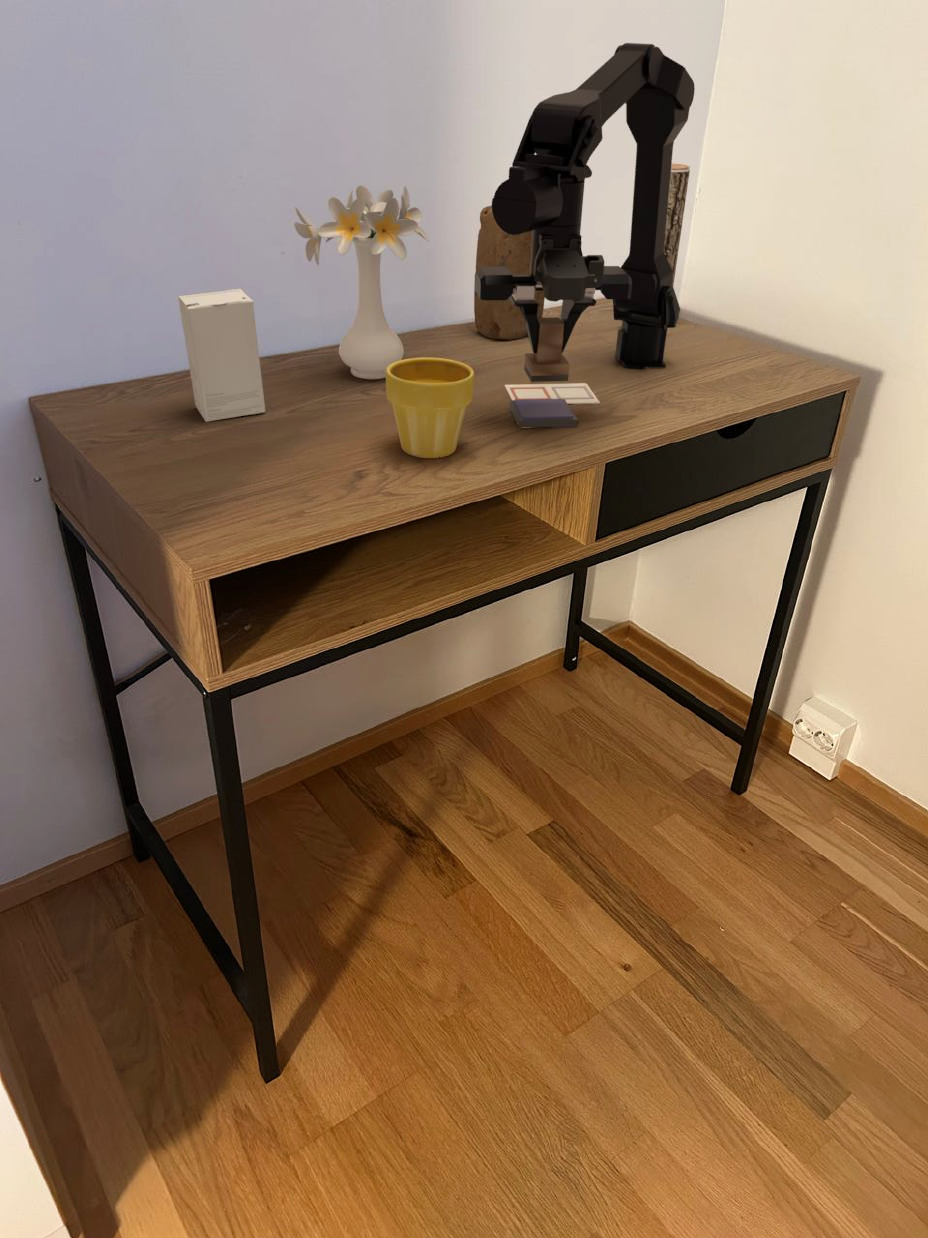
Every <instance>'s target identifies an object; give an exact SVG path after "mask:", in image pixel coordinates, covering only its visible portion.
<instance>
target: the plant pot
mask: <svg viewBox="0 0 928 1238" xmlns="http://www.w3.org/2000/svg"><path fill="white" fill-rule="evenodd" d="M474 389H475V371H474V369H473V368H472V367H471V366H470V365H467V364H466V363H464V362H461V361H458V360H454V359H448V358H442V357H412V358H404V359H401V360H400V361H397V362H394V363H392V364H390V365H389V366H388V367H387V369H386V378H385V394H386V398H387V400H388V401H389V403H391V405H392V408H393V409H392V410H393V413H394V418H395V422H396V427H397V431H398V437H399V441H400V445H401V448H402V451H404V452H405V453H406V454H408V455H410V456H413V457H416V458H421V459H440V458H445V457H448V456H450V455H452V454H453V453H455V451H456V450H457V446H458V442H459V437H460V433H461V429H462V425H463V422H464V418H465V413H466V409H467V406H468V405H469V404H470V403H472V401H473V399H474ZM439 457H440V458H439Z"/></svg>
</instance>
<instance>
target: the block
mask: <svg viewBox="0 0 928 1238" xmlns="http://www.w3.org/2000/svg"><path fill="white" fill-rule="evenodd" d="M479 222H480V229H479V230H478V235H477V245H476V258H475V272H476V271H477V269H478V268H479V267H507V268H508V269H509V271H510V272H511V273H512V275H529V274H530V262H531V247H532V231H529V232H526V233H522V234H518V235H511V234H508V233H506V232H504V231H503V230H502V229H501V228H500V227H499V226H498V225H497V223H496V221H495V219H494V216H493V213H492V205H488V206H485V207H484V208H483V207H482V209H481V210H480V212H479ZM537 283H541V282H537ZM473 290H474V292H473V309H474V310H473V311H474V314H473V315H474V325H475V328H476V330H477V331H478V332H480V334H481V335H482V336H484V337H486V338H489V339H493V340H505V341H507V340H508V341H510V340H516V339H521V338H523V337H524V336H525V337H526V336H527V337H528V332H527V329H526V325H525V321H524V318H523V315H522V313H521V310H520V308H519V307H517V306H514V305H513V303H512V302H511V300H510V299H509V298H508V299H507V300H481V299H480V298H479V296H478V295H477V293H476V291H475V289H473ZM534 298H535V299H536V300H537V302H538V303H539V305H538V311H537V318H543V314H544V306H545V299H546V298H545V297H544V292H543V291H535V296H534Z"/></svg>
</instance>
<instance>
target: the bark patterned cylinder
mask: <svg viewBox="0 0 928 1238" xmlns="http://www.w3.org/2000/svg"><path fill="white" fill-rule="evenodd" d="M690 168H691V166H690V165H687V164H682V163H673V162H672V164H671V175H670V186H669V197H668V208H667V219H666V230H665V242H664V254H665V256H666V258H667V260H668V262H669V264H670V266H671V268H672V270H673V286H674V283H675V276H676V272H677V271H676V269H677V264H678V256H679V248H680V242H681V234H682V227H683V219H684V216H685V215H684V213H685V206H686V198H687V193H688V192H687V191H688V185H689V178H690V171H691V170H690Z"/></svg>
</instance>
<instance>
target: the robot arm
mask: <svg viewBox="0 0 928 1238" xmlns="http://www.w3.org/2000/svg"><path fill="white" fill-rule="evenodd" d="M694 96H695V82H694V80H693V78H692V77H691V75H690V74H689V72H688V71H687V69H686V67H685V66H683V65H682V64H680V63H678V62H677V61H675V60H674V59H671V58H670V57H669V56H667V55H666V54H664V53H663V51H662V50H661V48H660V47H659V46H655V44H653V43H635V42H634V43H633V42H626V43H623V44H620V45H618V46H617V47H616V49H615V50H614V54H613V55H612V56H611V57H610V58H609V59H608V60H607V61H606V62H604V64H602V65H601V66H600V67H599V68H597V70H596V71H595V72H594V73H592V74H591V75H590V76H589V77H588V78H587V79H586V80H584V82H583V83H581V84H580V85H579V86H578V87H577V88H575V89H574V90H572V91H567V92H563V93H559V94H558V93H557V94H554V95H551V96H549V97H547V98H546V99H543V100H541V101H540V102H538V104H537V105H536V106H535V107H534V109H533V111H532V113H531V115H530V116H529V119H528V122H527V125H526V126H525V129H524V133H523V135H522V136H521V141H520V143H519V145H518V148H517V150H516V153H515V155H514V158H513V161H512V163H511V164H512V166H510V167H509V169H508V179H505V180H504V181H503V182H501V183H500V184H499V185H498V187H496V190H495V192H494V195H493V198H492V199H491V206H492V213H493V216H494V219H495V221H496V223H497V225H498V226H499V227H500V228H501V229H502V230H503V231H504V232H506V233H508V234H511V235H518V234H522V233H526V232H529V231H532V247H531V262H530V274H529V275H512V273H511V272H510V271H509V269H508V268H507V267H479V268H478V269H477V271H476V270H475V272H474V285H473V286H474V289H475V291H476V293H477V295H478V296H479V298H480V299H481V300H507V299H508V298H509V299H510V300H511V302H512V303H513V305H514V306H517V307H519V308H520V310H521V313H522V315H523V318H524V321H525V325H526V329H527V332H528V335H527V337H528V338H529V339H528V340H529V343H530V347H531V350H532V353H537V347H538V324H537V311H538V305H539V303H538V302H537V300H536V299H535V298H534V296H535V291H543V292H544V297H545V299H546V300H547V301H549V302H558V301H562V304H561V312H560V319H561V321H562V322H563V323H564V332H563V344H562V354H563V353H564V351H565V348H566V346H567V344H568V341H569V339H570V337H571V335H572V333H573V330H574V328H575V326H576V324H577V322H578V321H579V318H581V316H582V314H583V313H584V312H585V310H586V309H587V308H589V307H594V306H596V304H597V300H596V299H595V298H594V295H595V294H596V291H600V294H602V295H603V296H604V298H605V299H606V300H612V307H613V308H612V309H613V310H612V311H613V320H614V321H621V323H622V324H621V328H619V329H618V330H617V337H616V345H615V353H614V356H615V358H617V359H618V361H619V363H621V365H622V366H623V367H625V368H627V369H629V368H631V369H634V368H636V369H637V368H638V369H639V368H666V367H667V363H666V361H664V356H665V346H666V341H667V333H668V329H671V328H672V329H673V328H676V326H677V323H678V319H679V318H680V311H681V307H680V304H679V301H678V297H677V295H676V291H675V288H674V285H673V270H672V268H671V266H670V264H669V262H668V260H667V258H666V256H665V254H664V242H665V230H666V219H667V208H668V197H669V186H670V175H671V164H672V163H673V161H672V160H673V152H674V151H673V149H674V144H675V140H676V139H677V137H678V136H679V134H680V132H681V131H682V130H683V128H684V126H685V125H686V123H687V122H688V120H689V115H690V114H689V113H690V109H691V106H692V104H693V101H694ZM624 105H625V119H626V120H625V122H626V125H627V127H628V128H629V131H630V132H631V135H632V137H633V139H634V141H635V143H636V154H635V166H634V167H635V168H634V182H633V185H634V186H633V196H632V197H633V198H632V199H633V200H632V212H631V228H630V241H629V243H630V244H629V253H628V256H627V258H626V259H625V261H624V262H623V263H622V265H621V266H619V265H605V258H604V256H603V255H602V254H587V255H584V254H583V251H582V235H581V230H582V229H581V228H582V216H583V205H584V194H585V193H584V192H585V182H586V179H589V178H591V177H592V175H593V171H592V169H591V168H590V166H589V165H588V162H589V160H590V158H591V156H592V154H593V153H594V152H595V150H596V149H597V147H598V146H599V145H600V144H601V142H602V141H603V139H604V138H603V126H604V125H605V123H606V122H607V121H608V120H609V119H610V118H611V117H612V116H613V115H615V113H616V112H618V111H619V109H621V108H622V107H623V106H624ZM537 282H541V283H537ZM474 289H473V290H474Z"/></svg>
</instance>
